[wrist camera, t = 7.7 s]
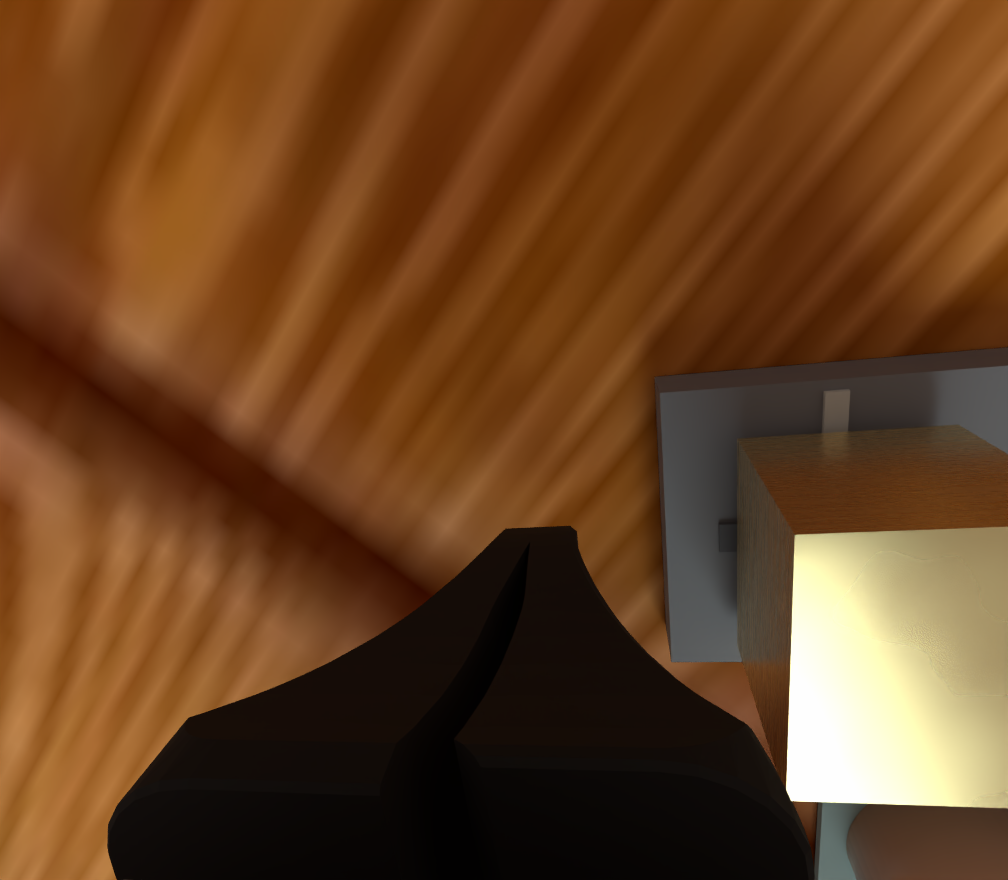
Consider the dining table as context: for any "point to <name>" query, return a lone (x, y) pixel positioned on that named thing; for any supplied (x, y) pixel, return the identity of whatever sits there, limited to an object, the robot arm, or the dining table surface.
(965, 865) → the peach domed cylinder
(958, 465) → the tan cardboard cube
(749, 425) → the board
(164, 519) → the dining table surface
